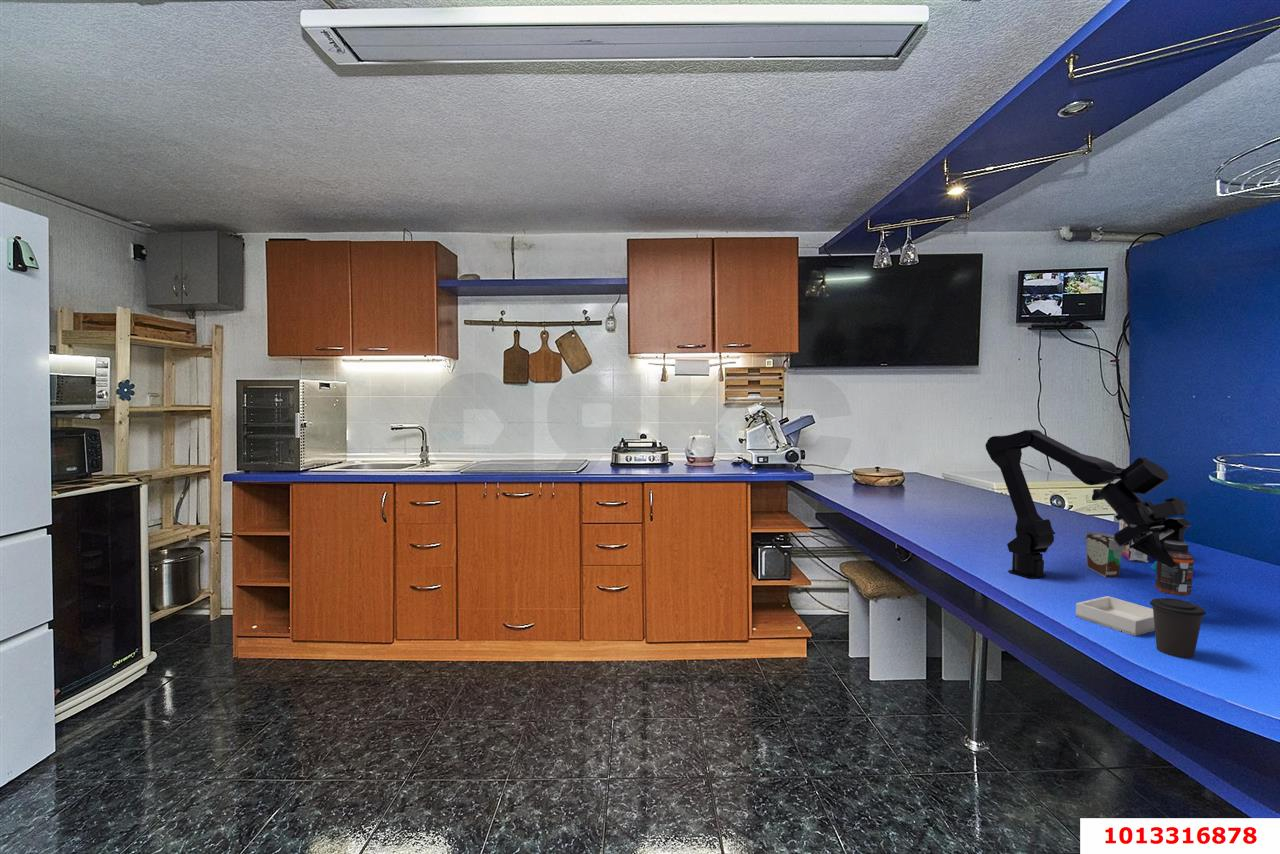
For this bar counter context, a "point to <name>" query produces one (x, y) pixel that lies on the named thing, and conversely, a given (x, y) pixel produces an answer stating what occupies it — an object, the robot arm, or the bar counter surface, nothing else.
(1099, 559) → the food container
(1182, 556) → the supplement bottle
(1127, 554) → the candy bar box
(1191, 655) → the coffee cup
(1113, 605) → the tray
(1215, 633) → the bar counter surface
